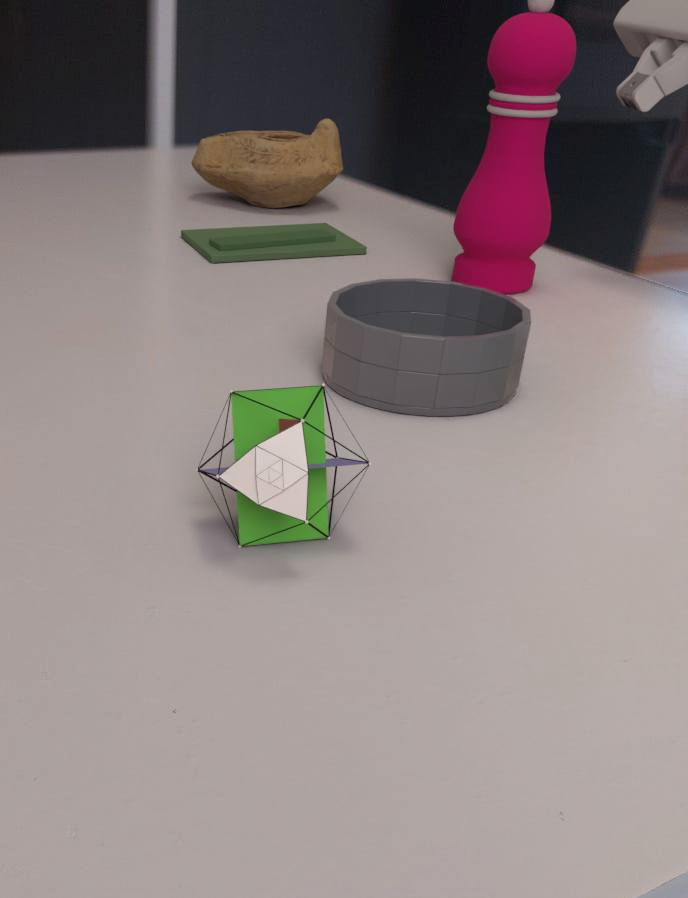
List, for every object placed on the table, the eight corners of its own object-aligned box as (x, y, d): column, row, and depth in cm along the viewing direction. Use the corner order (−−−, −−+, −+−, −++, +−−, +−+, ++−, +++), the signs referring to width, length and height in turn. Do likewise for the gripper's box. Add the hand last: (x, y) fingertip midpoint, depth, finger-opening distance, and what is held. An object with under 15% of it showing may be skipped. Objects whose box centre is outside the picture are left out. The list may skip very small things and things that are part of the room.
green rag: (325, 229, 95) (326, 216, 95) (366, 253, 88) (367, 240, 88) (180, 237, 92) (180, 224, 91) (211, 263, 85) (211, 249, 84)
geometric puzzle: (180, 445, 49) (204, 347, 42) (316, 434, 51) (363, 338, 43) (205, 583, 47) (235, 507, 40) (346, 568, 49) (402, 492, 41)
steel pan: (472, 344, 69) (484, 276, 67) (548, 412, 60) (565, 335, 57) (302, 350, 67) (307, 280, 65) (352, 420, 58) (361, 341, 55)
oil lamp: (193, 189, 109) (194, 104, 104) (334, 193, 109) (342, 109, 104) (188, 212, 100) (189, 121, 95) (342, 217, 100) (351, 125, 95)
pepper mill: (492, 301, 77) (548, -12, 66) (426, 278, 82) (467, -18, 71) (557, 288, 81) (621, -13, 69) (489, 266, 86) (539, -18, 74)
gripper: (694, -92, 79) (547, 53, 83) (876, -97, 62) (681, 85, 66) (729, -22, 82) (586, 115, 86) (912, -8, 65) (723, 160, 69)
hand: (628, 102), depth 76 cm, fingers closed
